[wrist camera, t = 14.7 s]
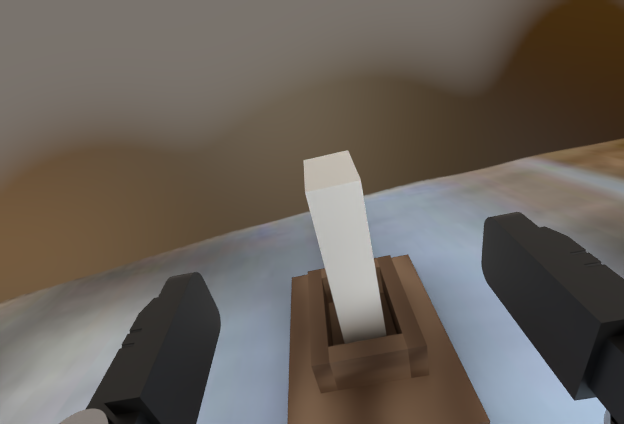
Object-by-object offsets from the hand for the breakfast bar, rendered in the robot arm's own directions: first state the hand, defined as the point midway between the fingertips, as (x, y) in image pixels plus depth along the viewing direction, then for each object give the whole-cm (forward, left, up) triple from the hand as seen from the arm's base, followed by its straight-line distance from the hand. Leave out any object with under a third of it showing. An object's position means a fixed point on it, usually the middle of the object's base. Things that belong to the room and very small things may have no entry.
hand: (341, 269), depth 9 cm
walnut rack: (0, +11, -16) cm, 20 cm away
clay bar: (0, +11, -15) cm, 19 cm away
